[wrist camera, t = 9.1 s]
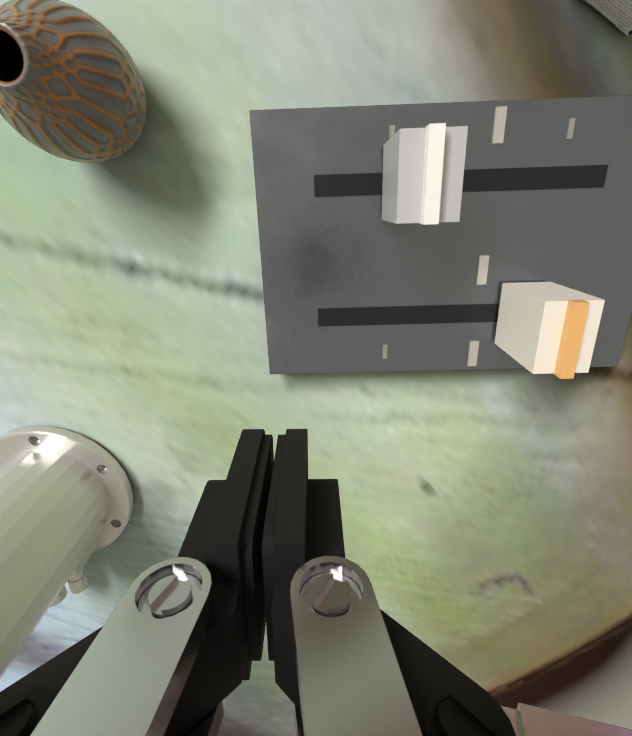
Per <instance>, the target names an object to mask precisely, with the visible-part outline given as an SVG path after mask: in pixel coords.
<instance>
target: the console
mask: <svg viewBox="0 0 632 736" xmlns="http://www.w3.org/2000/svg"><path fill="white" fill-rule="evenodd" d="M250 123H251V136H252V149H253V162H254V175H255V187H256V200H257V213H258V226H259V239H260V252H261V265H262V278H263V291H264V303H265V316H266V329H267V342H268V355H269V368H270V374H301V373H345V372H389V371H433V370H477V369H521V368H525V367H523V366H522V365H521V364H520V363H519V362H517V361H516V360H515V359H514V358H512V357H511V356H510V355H509V354H507V353H506V352H505V351H504V350H502V349H501V348H500V347H499V346H497V345H496V344H495V335H496V328H497V320H498V313H499V305H500V298H501V291H502V283H520V282H553V283H556V284H559V285H562V286H565V287H568V288H571V289H574V290H577V291H580V292H583V293H586V294H589V295H592V296H595V297H598V298H601V299H604V300H605V302H604V306H603V311H602V315H601V319H600V324H599V328H598V333H597V337H596V341H595V346H594V350H593V354H592V359H591V363H590V367H609V366H618V363H619V359H620V355H621V351H622V347H623V343H624V339H625V335H626V331H627V327H628V324H629V320H630V316H631V312H632V95H631V96H605V97H580V98H554V99H528V100H503V101H477V102H452V103H426V104H401V105H375V106H349V107H324V108H298V109H273V110H250ZM434 123H446V127H456V126H468V132H467V143H466V154H465V165H464V176H463V187H462V198H461V209H460V220H459V222H439V224H427V225H423V224H420V223H402V224H396V223H392V222H388V221H384V220H382V183H383V145H384V144H385V143H386V142H387V141H388V140H389V139H390V138H391V137H392V136H393V135H394V134H395V133H396V132H397V131H398V130H399V129H403V128H426V126H427V125H429V124H434Z"/></svg>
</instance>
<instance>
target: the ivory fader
mask: <svg viewBox="0 0 632 736" xmlns="http://www.w3.org/2000/svg"><path fill="white" fill-rule="evenodd" d="M604 302H605V300H604V299H601V298H598V297H595V296H592V295H589V294H586V293H583V292H580V291H577V290H574V289H571V288H568V287H565V286H562V285H559V284H556V283H553V282H520V283H502V291H501V298H500V305H499V313H498V320H497V328H496V335H495V344H496V345H497V346H499V347H500V348H501V349H502V350H504V351H505V352H506V353H507V354H509V355H510V356H511V357H512V358H514V359H515V360H516V361H517V362H519V363H520V364H521V365H522V366H523V367H525V368H526V369H527V370H528V371H530V372H531V373H532V374H548V373H553V374H554V375H556V376H557V377H558V378H560V379H574V374H575V373H588V372H589V368H590V363H591V359H592V354H593V350H594V346H595V341H596V337H597V333H598V328H599V324H600V319H601V315H602V311H603V306H604Z"/></svg>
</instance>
